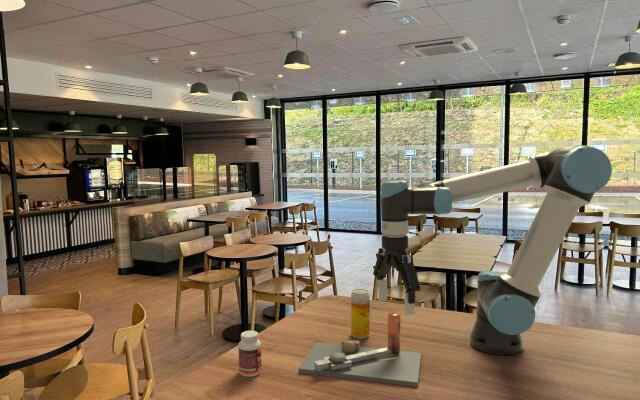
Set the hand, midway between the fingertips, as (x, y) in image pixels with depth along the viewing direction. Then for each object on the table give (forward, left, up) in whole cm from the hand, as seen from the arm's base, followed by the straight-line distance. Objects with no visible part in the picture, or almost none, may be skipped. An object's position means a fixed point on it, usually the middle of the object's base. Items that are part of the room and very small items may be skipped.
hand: (395, 307), depth 136 cm
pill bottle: (+38, +19, -15) cm, 45 cm away
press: (+9, +7, -15) cm, 19 cm away
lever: (+9, +8, -14) cm, 18 cm away
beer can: (+13, -13, -15) cm, 24 cm away
